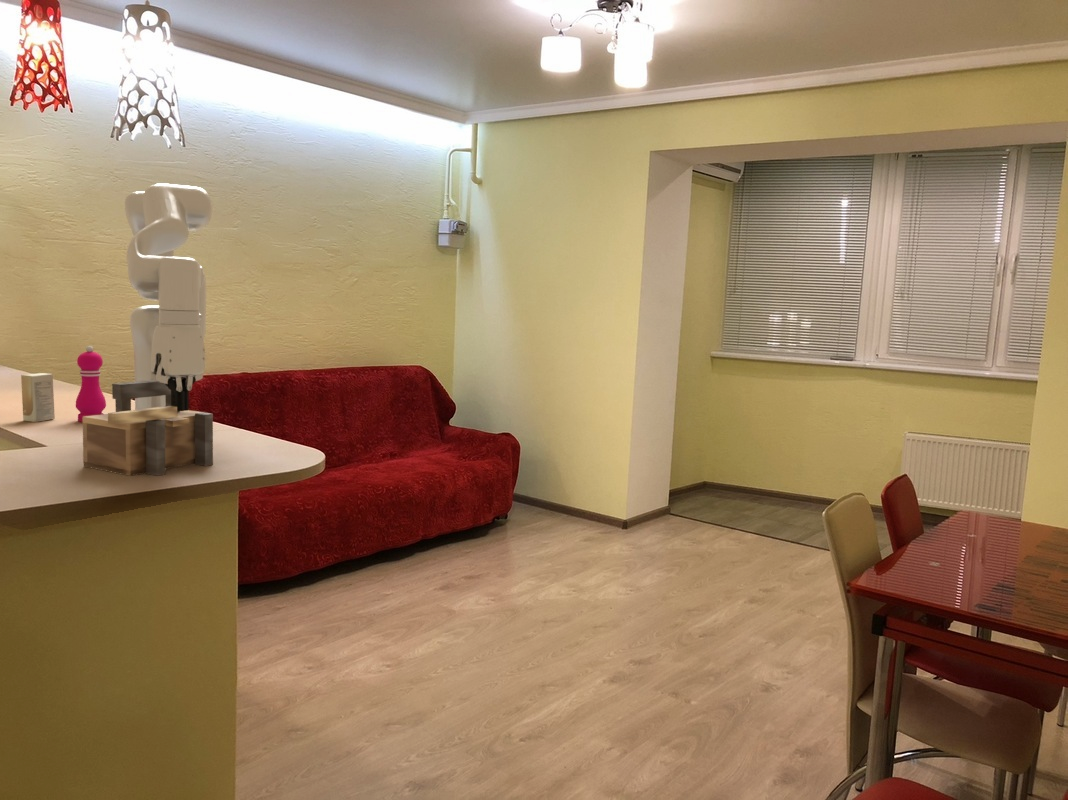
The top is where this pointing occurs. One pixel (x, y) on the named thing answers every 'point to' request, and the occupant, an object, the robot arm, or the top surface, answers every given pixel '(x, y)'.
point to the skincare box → (37, 397)
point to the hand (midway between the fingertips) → (180, 409)
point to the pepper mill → (90, 385)
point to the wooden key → (142, 415)
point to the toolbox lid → (140, 390)
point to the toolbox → (149, 446)
